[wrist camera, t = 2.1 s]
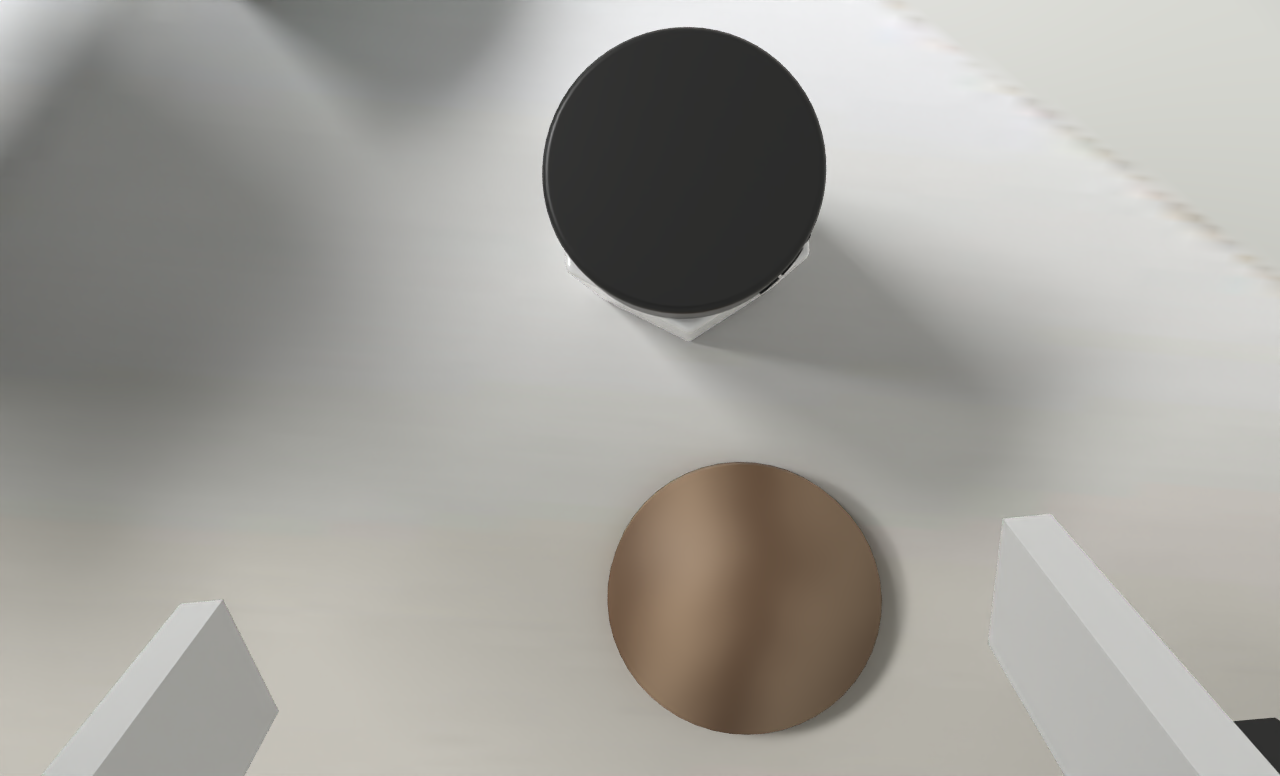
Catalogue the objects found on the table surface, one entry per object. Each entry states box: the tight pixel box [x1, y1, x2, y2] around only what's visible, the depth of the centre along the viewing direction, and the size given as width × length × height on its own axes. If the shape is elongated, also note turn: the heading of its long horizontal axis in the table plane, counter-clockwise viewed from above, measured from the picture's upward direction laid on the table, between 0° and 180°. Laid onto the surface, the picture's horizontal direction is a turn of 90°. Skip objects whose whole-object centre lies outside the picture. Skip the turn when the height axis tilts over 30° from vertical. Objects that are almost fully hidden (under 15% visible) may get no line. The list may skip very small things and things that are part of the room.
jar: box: [542, 27, 826, 341], centre depth 26 cm, size 9×8×12 cm
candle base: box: [608, 462, 882, 735], centre depth 32 cm, size 12×12×1 cm
